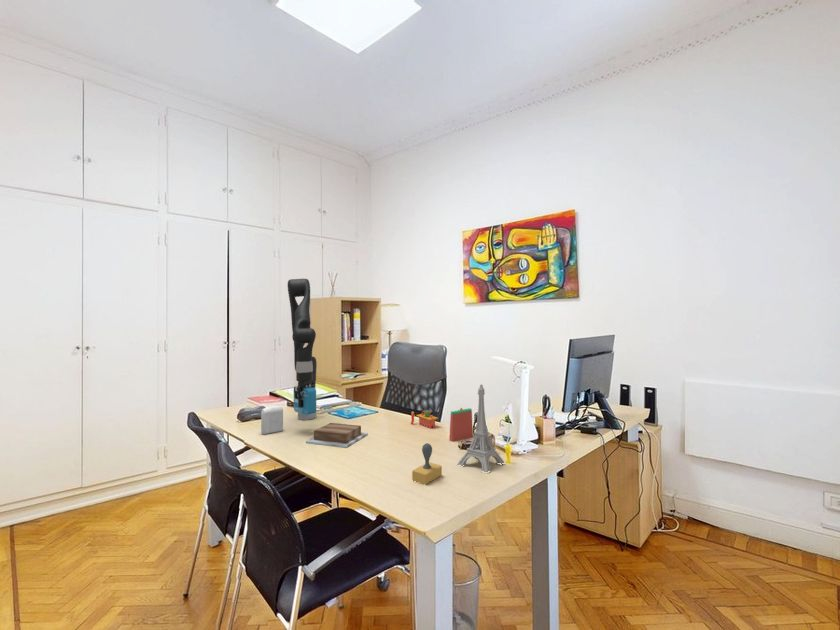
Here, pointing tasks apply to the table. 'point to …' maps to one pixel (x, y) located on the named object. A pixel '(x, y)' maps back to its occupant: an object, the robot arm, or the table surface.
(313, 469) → the table surface
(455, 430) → the toy building block set
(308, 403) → the data package
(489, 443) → the eiffel tower
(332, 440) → the base
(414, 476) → the rubber stamp
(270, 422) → the photo printer
